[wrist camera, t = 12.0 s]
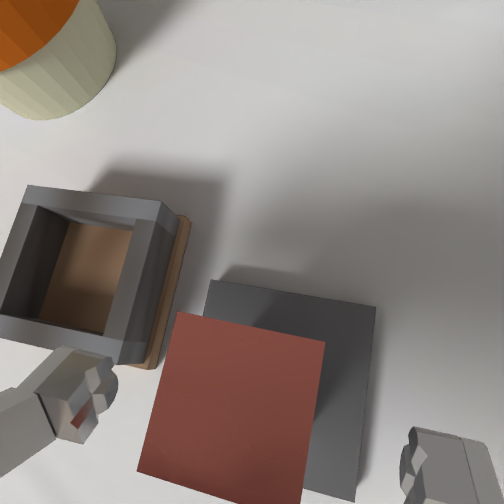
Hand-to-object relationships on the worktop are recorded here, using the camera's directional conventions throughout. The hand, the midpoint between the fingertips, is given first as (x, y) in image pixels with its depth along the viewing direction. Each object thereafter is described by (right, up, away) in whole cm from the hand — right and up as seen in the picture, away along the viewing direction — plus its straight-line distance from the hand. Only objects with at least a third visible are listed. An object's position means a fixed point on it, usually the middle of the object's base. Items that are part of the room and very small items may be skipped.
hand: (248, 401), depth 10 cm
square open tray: (-8, +2, +11) cm, 13 cm away
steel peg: (+1, -2, +7) cm, 7 cm away
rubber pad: (+1, -2, +8) cm, 8 cm away
